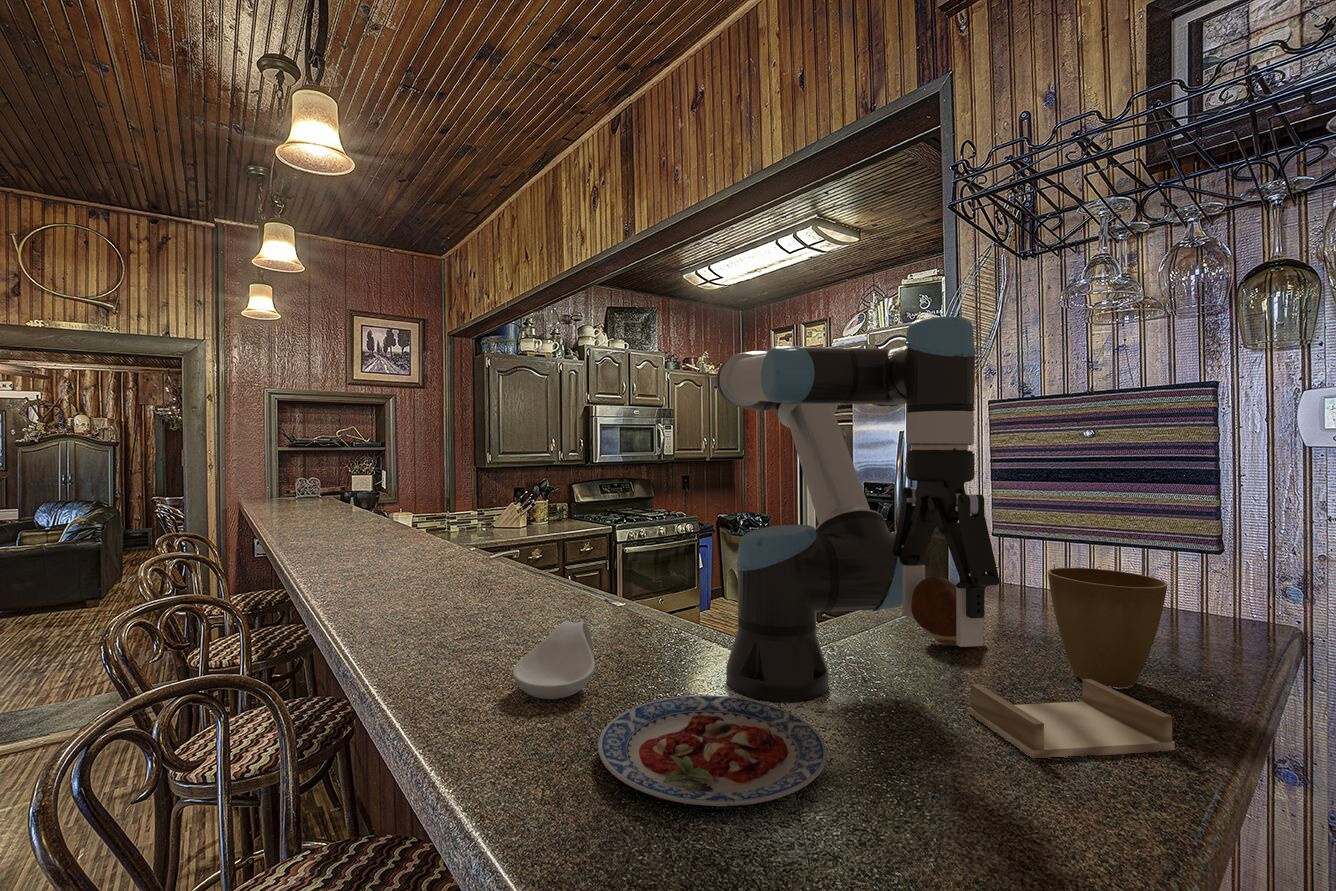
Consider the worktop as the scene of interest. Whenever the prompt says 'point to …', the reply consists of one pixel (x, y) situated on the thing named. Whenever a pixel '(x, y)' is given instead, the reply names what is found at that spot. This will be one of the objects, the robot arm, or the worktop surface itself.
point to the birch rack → (1076, 723)
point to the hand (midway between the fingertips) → (939, 629)
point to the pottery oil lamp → (944, 638)
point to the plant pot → (1106, 621)
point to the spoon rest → (557, 663)
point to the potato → (935, 606)
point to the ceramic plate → (712, 750)
